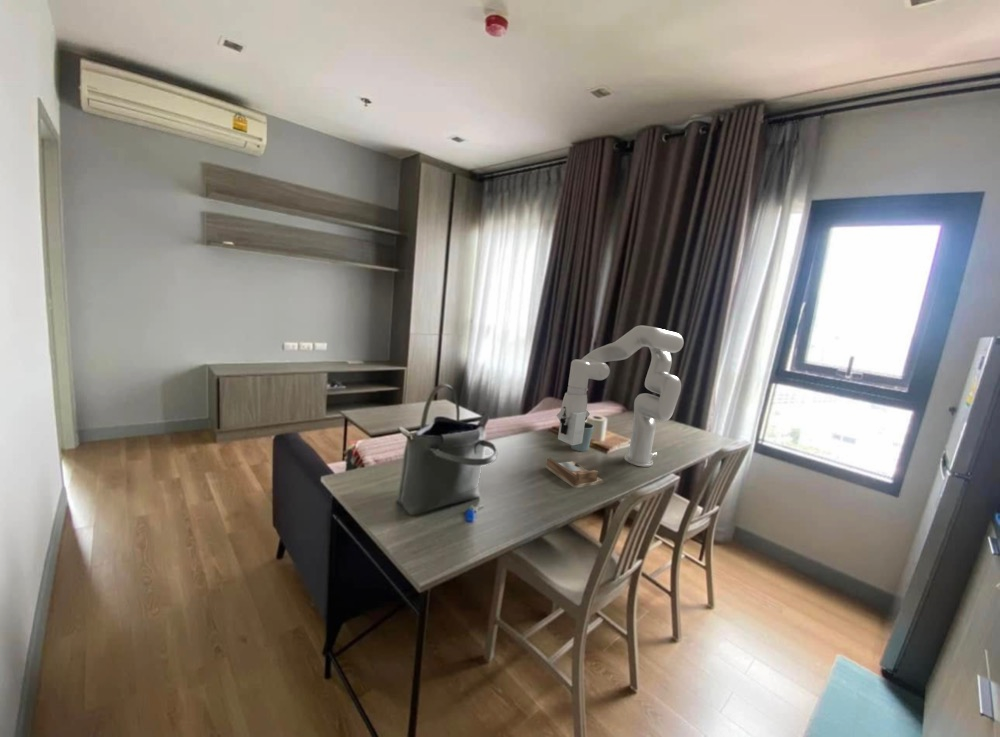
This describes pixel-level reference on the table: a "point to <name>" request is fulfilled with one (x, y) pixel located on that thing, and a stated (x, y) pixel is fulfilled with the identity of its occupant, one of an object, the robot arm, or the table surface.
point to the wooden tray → (573, 473)
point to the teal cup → (585, 438)
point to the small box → (573, 429)
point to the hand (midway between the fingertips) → (571, 432)
